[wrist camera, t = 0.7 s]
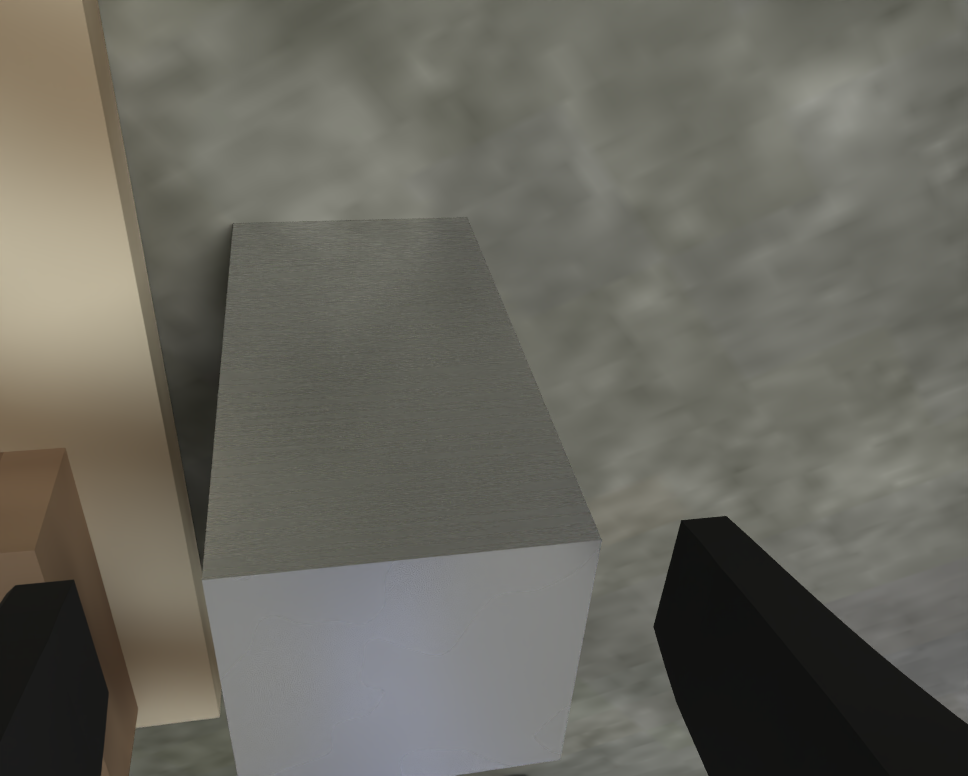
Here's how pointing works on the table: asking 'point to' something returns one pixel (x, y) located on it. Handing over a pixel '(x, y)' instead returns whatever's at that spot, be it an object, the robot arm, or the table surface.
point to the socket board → (90, 383)
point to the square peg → (387, 511)
